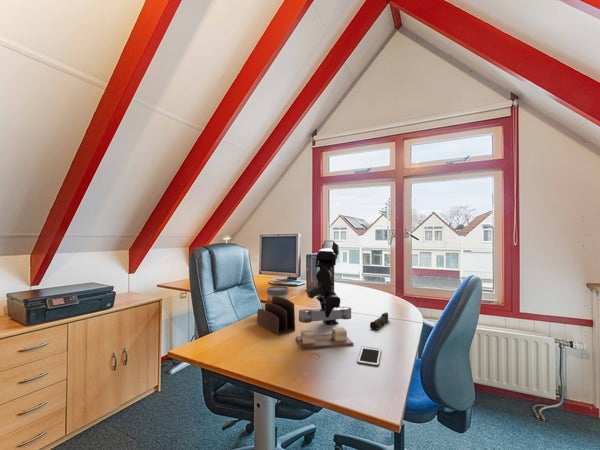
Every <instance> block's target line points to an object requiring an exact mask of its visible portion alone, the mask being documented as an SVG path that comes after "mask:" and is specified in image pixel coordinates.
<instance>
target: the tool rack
mask: <svg viewBox="0 0 600 450" xmlns="http://www.w3.org/2000/svg"><path fill="white" fill-rule="evenodd" d="M295 340H296V342H297V344H298V346H299V347H300V350H301V351H306V350H307V351H308V350H317V349H328V348H339V347H350V346H351V347H352V346H354V343H353V341H352V340H351V339H350V338H349V337H348V331H347V329H346V328H344V326H337V327H331V333H325V334H316V332H315V330H314V329H312V328H311V329H310V328H309V329H300V335H298V336H297V335H296V336H295Z"/></svg>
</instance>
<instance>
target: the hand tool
mask: <svg viewBox="0 0 600 450" xmlns="http://www.w3.org/2000/svg"><path fill="white" fill-rule="evenodd" d="M388 322H389V313H388V312H384V313H383V312H382V314H381V316H379V317H378V318H377V319H375V320H374V321H371V322H369V326H370V327H369V328H370V329H371V330H374V331H377V330H378V329H379V328H380V327H381V326H383V325H384V324H387V323H388Z"/></svg>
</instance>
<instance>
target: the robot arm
mask: <svg viewBox="0 0 600 450" xmlns="http://www.w3.org/2000/svg"><path fill="white" fill-rule="evenodd" d="M339 253H340V252H339V245H338V244H337V243H336V242H335V240H333V239H326V240H324V241H323V244H321V249H319V250H318V252H317V253H316V258H315V259H316V260H315V267H316V268H319V269H318V271H317V272H316V275H315V277H316V281H317V283H316V285H313V286H311V287H309V288H306V289H305V291H306V295H307V297H308V298H309V299H310V300H311V299H314V298H315V299H316V300H317V301H319V304H320V309H325V314H326V317H329V315H330V313H331V311H332V309H333V308H339V307H341V298H340V297H339V296H338V295H337V293H336V292H335V266H336V265H337V264H336V263H337V259H338V256H339V255H340V254H339ZM323 323H325V325H336V324H339V322H338V320H337V319H336V320H324V321H323Z"/></svg>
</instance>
